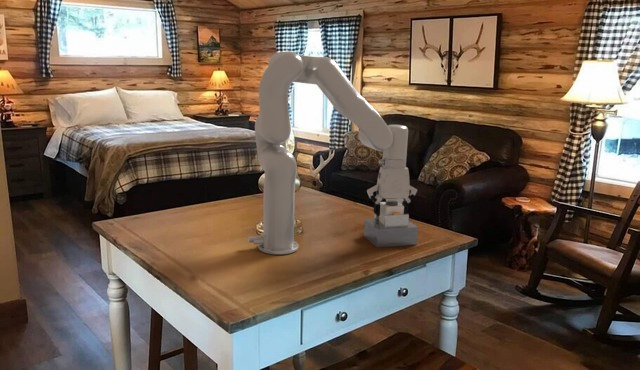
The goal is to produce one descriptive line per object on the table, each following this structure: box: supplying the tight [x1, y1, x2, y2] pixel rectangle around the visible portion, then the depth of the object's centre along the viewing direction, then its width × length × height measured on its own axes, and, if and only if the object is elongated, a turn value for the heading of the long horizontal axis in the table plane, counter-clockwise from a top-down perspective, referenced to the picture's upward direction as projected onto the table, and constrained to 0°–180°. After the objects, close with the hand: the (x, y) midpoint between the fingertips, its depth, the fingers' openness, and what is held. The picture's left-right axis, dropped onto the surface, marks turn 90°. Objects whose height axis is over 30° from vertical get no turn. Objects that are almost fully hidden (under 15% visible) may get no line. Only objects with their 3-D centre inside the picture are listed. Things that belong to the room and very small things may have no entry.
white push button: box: [379, 200, 404, 224], centre depth 181 cm, size 6×6×7 cm
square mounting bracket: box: [363, 212, 419, 248], centre depth 183 cm, size 16×12×11 cm
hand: (390, 214), depth 181 cm, fingers open, 9 cm apart
